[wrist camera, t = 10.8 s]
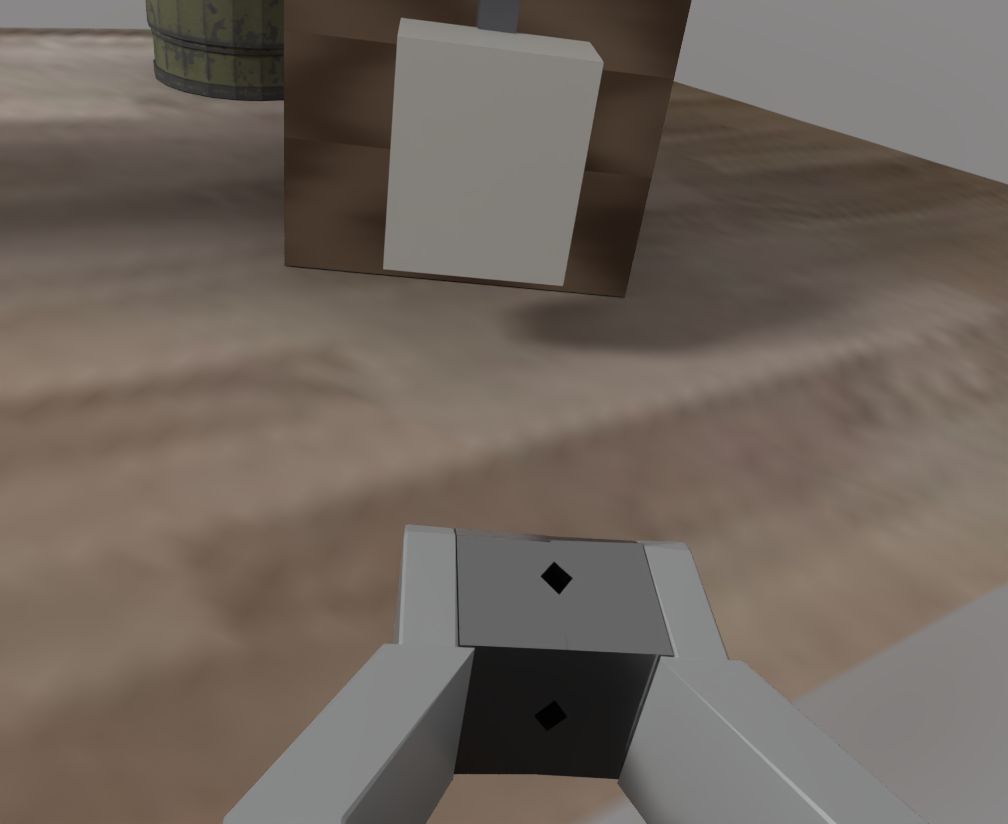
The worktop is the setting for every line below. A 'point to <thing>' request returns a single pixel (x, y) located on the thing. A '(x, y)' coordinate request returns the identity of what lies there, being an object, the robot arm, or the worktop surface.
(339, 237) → the block
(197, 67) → the olive green tall piece
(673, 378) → the worktop surface
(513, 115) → the peg
